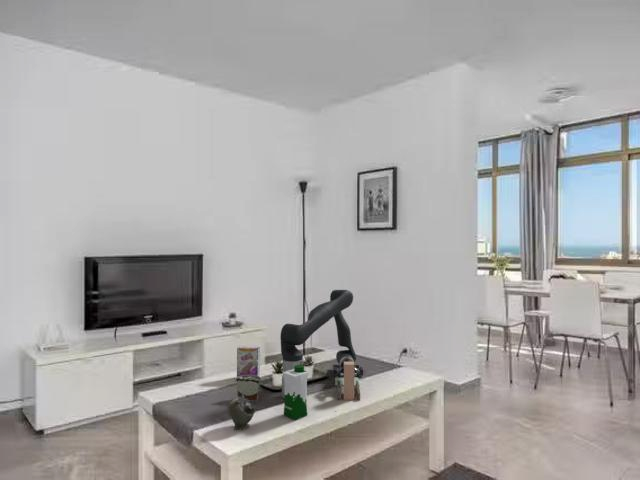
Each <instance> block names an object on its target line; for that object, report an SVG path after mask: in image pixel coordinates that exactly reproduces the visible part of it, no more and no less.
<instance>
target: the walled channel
mask: <svg viewBox="0 0 640 480" xmlns="http://www.w3.org/2000/svg"><path fill="white" fill-rule="evenodd" d="M359 384H360V383H359ZM359 384H358V381H356V386H355V390H356V396H357V401H361V390H360V386H359ZM337 401H341V386H340V381H338V386H337Z"/></svg>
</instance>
